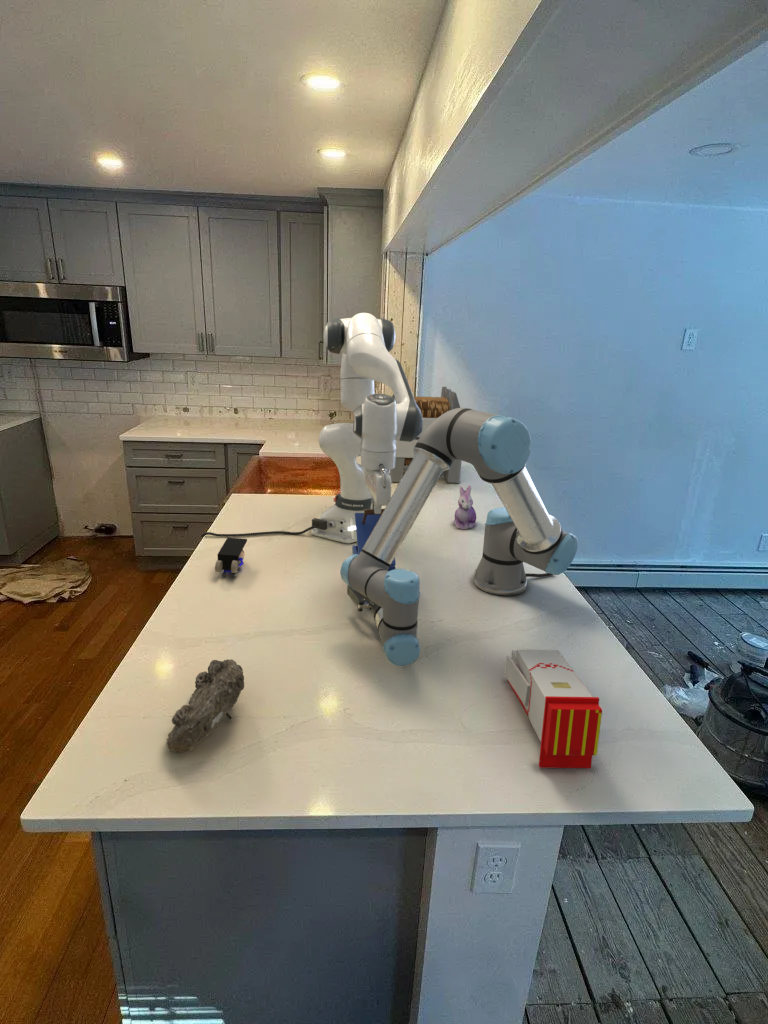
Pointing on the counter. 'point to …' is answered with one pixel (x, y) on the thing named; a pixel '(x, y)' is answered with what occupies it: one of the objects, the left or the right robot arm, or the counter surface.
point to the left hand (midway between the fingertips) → (376, 510)
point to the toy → (556, 707)
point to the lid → (366, 527)
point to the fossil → (206, 705)
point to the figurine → (465, 510)
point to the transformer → (430, 413)
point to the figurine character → (230, 556)
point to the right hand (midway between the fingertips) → (374, 574)
